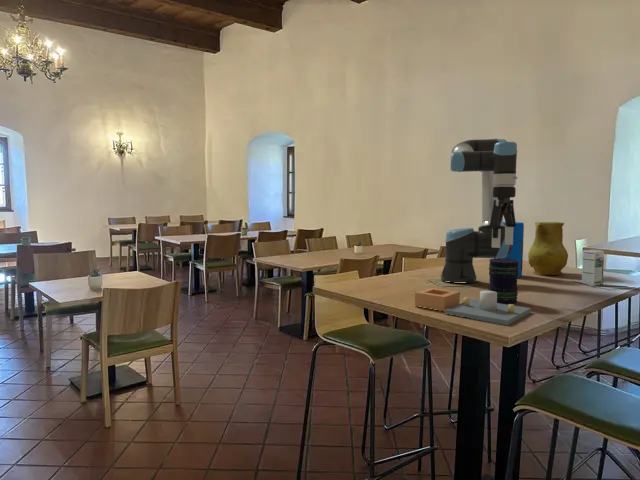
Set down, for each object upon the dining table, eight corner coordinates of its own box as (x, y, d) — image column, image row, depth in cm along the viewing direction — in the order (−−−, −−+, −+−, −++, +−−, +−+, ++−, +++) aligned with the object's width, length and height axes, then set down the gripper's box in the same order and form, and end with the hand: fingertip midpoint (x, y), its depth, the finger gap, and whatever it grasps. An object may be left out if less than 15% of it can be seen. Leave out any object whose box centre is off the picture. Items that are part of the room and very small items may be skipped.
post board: (444, 314, 153) (445, 292, 152) (471, 303, 167) (472, 283, 167) (507, 325, 139) (508, 302, 139) (530, 312, 154) (531, 291, 153)
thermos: (519, 278, 215) (521, 223, 213) (495, 276, 221) (496, 222, 218) (523, 275, 224) (525, 222, 222) (499, 273, 230) (501, 221, 228)
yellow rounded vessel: (520, 271, 235) (522, 221, 232) (555, 270, 237) (557, 220, 234) (539, 277, 218) (542, 223, 215) (577, 276, 220) (580, 222, 217)
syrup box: (593, 285, 198) (595, 251, 196) (581, 283, 203) (582, 249, 202) (603, 284, 200) (604, 250, 198) (590, 282, 205) (591, 249, 204)
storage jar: (523, 303, 167) (525, 261, 165) (499, 305, 164) (501, 262, 162) (505, 297, 176) (506, 257, 175) (482, 299, 173) (483, 259, 172)
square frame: (414, 306, 163) (415, 292, 162) (430, 301, 171) (431, 287, 170) (444, 312, 155) (444, 297, 155) (459, 306, 164) (459, 291, 163)
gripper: (503, 185, 156) (501, 249, 158) (525, 186, 175) (523, 244, 177) (480, 185, 161) (479, 248, 163) (505, 187, 180) (503, 242, 182)
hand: (502, 246), depth 170 cm, fingers open, 13 cm apart
